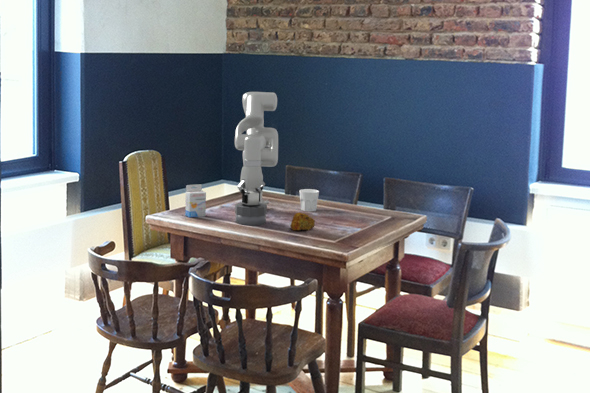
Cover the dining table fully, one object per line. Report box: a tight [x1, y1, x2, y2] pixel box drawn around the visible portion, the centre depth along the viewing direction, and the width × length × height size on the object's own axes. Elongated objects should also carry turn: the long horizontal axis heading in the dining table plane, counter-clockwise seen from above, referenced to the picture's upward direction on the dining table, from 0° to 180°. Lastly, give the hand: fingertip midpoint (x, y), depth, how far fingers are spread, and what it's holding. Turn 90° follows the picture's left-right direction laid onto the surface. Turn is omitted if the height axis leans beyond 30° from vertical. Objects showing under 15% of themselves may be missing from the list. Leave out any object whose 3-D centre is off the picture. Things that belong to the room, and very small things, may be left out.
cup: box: [299, 188, 320, 212], centre depth 336 cm, size 10×10×10 cm
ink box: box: [184, 183, 207, 218], centre depth 311 cm, size 8×5×15 cm, turn 123°
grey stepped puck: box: [234, 201, 268, 226], centre depth 304 cm, size 14×14×8 cm
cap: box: [244, 191, 259, 205], centre depth 303 cm, size 7×7×6 cm
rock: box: [289, 212, 316, 231], centre depth 294 cm, size 11×8×10 cm
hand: (251, 201), depth 303 cm, fingers closed on cap, 7 cm apart
